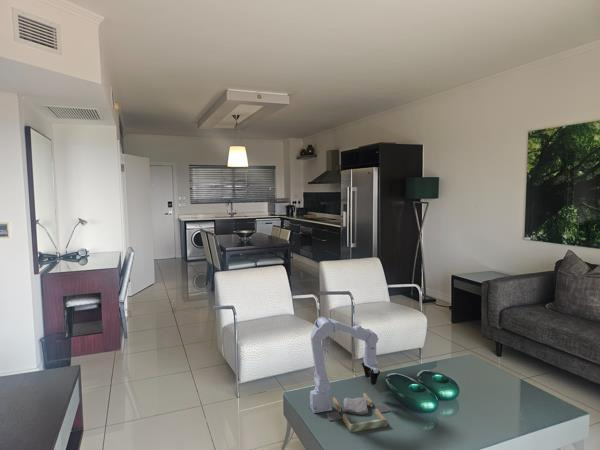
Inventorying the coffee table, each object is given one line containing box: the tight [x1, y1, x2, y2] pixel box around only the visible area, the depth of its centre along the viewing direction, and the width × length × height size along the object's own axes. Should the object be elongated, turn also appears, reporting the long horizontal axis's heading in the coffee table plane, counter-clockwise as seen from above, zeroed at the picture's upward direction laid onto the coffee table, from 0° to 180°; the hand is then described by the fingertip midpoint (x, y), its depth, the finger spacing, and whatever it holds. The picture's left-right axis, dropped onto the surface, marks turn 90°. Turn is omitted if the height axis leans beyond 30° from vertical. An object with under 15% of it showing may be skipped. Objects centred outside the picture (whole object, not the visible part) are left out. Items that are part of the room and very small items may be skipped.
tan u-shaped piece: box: [332, 392, 388, 433], centre depth 186 cm, size 17×25×3 cm
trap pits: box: [325, 404, 391, 422], centre depth 187 cm, size 30×6×1 cm, turn 103°
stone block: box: [342, 396, 369, 416], centre depth 190 cm, size 12×5×10 cm
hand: (370, 380), depth 198 cm, fingers open, 7 cm apart
